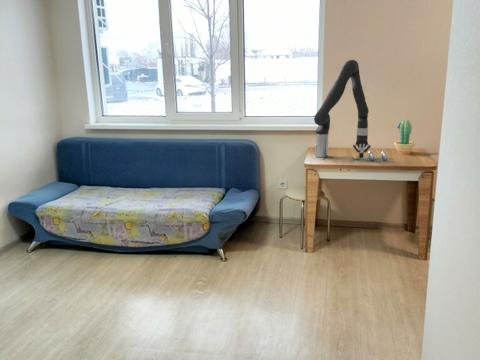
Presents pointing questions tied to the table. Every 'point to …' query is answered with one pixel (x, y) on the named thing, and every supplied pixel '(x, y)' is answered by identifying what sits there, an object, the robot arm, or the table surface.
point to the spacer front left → (372, 156)
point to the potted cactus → (404, 138)
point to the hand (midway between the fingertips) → (361, 157)
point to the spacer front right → (385, 157)
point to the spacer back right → (382, 154)
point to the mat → (366, 159)
